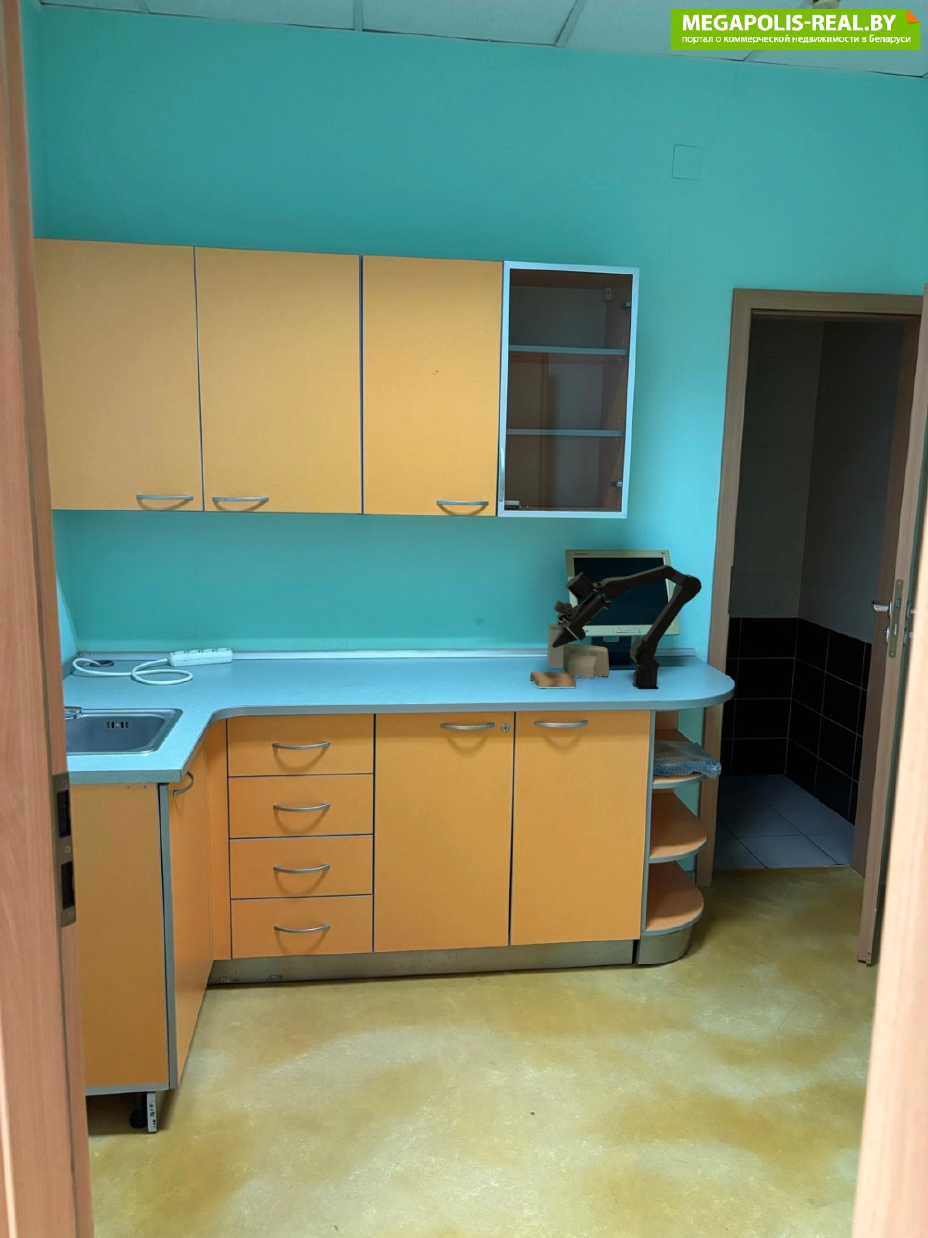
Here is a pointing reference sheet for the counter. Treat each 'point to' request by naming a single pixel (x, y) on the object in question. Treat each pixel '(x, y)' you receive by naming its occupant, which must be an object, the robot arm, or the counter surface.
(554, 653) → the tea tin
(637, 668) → the robot arm
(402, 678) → the counter surface
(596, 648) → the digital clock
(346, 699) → the counter surface
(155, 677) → the counter surface
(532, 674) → the walnut board
